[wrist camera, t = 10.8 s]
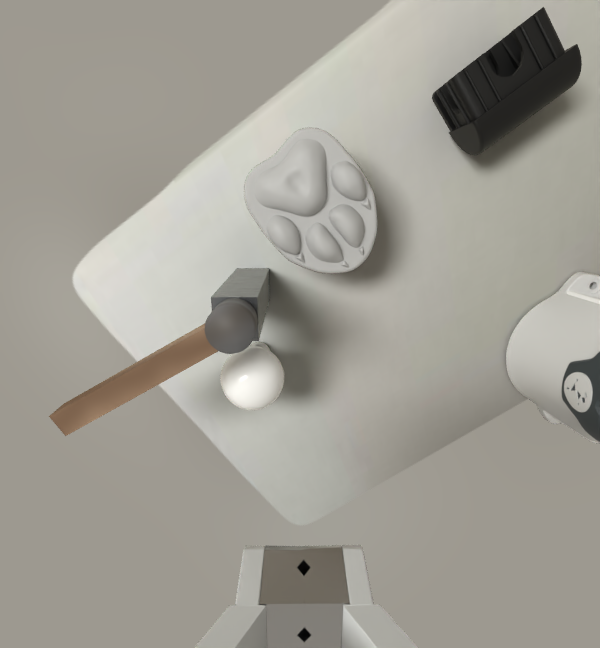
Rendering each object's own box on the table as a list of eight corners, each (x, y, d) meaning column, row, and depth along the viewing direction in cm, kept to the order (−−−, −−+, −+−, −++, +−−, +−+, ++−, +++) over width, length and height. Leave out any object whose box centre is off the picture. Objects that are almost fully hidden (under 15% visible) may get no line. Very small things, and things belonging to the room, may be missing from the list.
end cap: (460, 160, 42) (490, 152, 36) (425, 99, 41) (450, 79, 34) (547, 96, 41) (594, 76, 34) (513, 30, 39) (557, -4, 33)
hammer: (266, 328, 32) (263, 339, 30) (86, 428, 34) (70, 445, 32) (242, 289, 31) (237, 297, 29) (59, 394, 33) (39, 410, 31)
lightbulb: (269, 315, 47) (261, 348, 36) (295, 360, 49) (295, 404, 38) (222, 340, 48) (201, 379, 37) (249, 383, 49) (237, 432, 39)
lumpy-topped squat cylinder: (315, 124, 41) (319, 105, 33) (388, 226, 44) (410, 232, 36) (238, 192, 43) (224, 189, 35) (314, 285, 46) (318, 303, 38)
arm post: (269, 268, 45) (257, 297, 32) (269, 299, 46) (258, 340, 33) (236, 268, 45) (211, 297, 32) (238, 299, 46) (213, 340, 33)
